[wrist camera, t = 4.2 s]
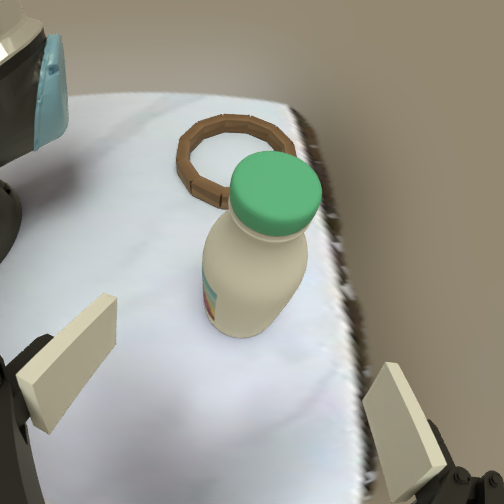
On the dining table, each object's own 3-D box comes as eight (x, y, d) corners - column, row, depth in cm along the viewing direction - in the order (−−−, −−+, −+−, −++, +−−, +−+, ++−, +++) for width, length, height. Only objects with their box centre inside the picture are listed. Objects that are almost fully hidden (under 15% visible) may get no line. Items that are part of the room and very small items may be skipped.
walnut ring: (172, 208, 36) (170, 196, 34) (184, 125, 43) (183, 113, 41) (299, 211, 38) (305, 200, 36) (285, 130, 46) (288, 118, 43)
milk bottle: (287, 290, 33) (366, 168, 16) (256, 352, 30) (325, 282, 12) (226, 258, 34) (245, 112, 16) (190, 316, 31) (165, 201, 13)
